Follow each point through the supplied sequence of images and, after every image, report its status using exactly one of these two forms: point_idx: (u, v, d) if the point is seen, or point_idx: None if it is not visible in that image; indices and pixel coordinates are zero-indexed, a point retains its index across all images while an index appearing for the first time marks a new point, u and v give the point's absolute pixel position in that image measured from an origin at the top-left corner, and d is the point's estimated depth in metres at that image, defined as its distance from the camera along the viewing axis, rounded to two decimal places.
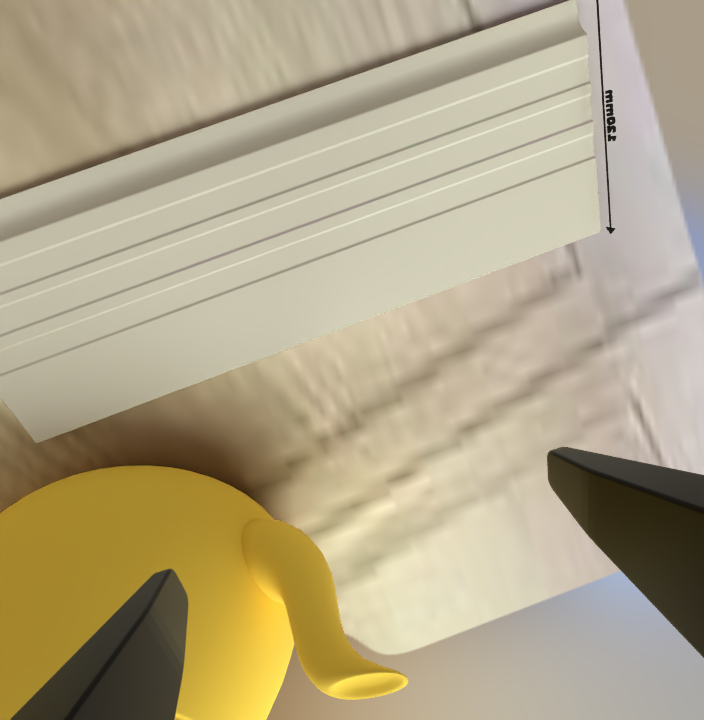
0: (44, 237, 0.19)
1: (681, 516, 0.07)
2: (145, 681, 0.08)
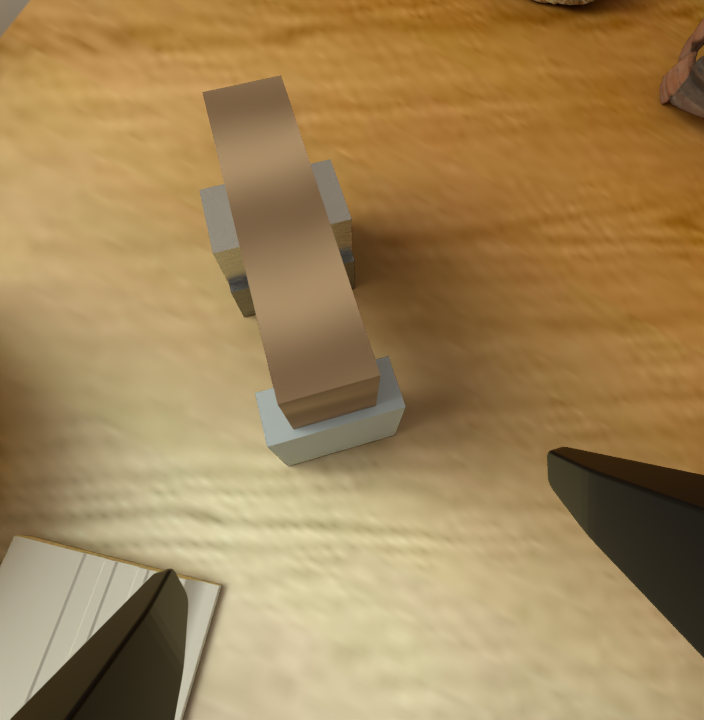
0: None
1: (681, 516, 0.07)
2: (145, 681, 0.08)
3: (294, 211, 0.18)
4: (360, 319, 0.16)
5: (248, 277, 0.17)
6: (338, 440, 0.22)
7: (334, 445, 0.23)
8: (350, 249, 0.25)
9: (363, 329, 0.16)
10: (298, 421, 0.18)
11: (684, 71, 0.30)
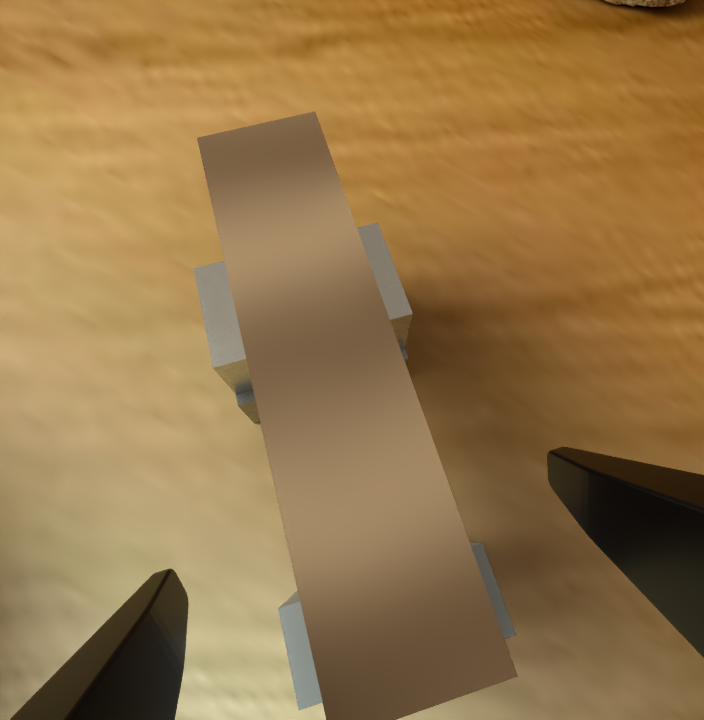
0: None
1: (681, 516, 0.07)
2: (145, 681, 0.08)
3: (345, 339, 0.11)
4: (470, 552, 0.09)
5: (272, 466, 0.10)
6: None
7: None
8: (403, 343, 0.18)
9: (478, 575, 0.09)
10: None
11: None
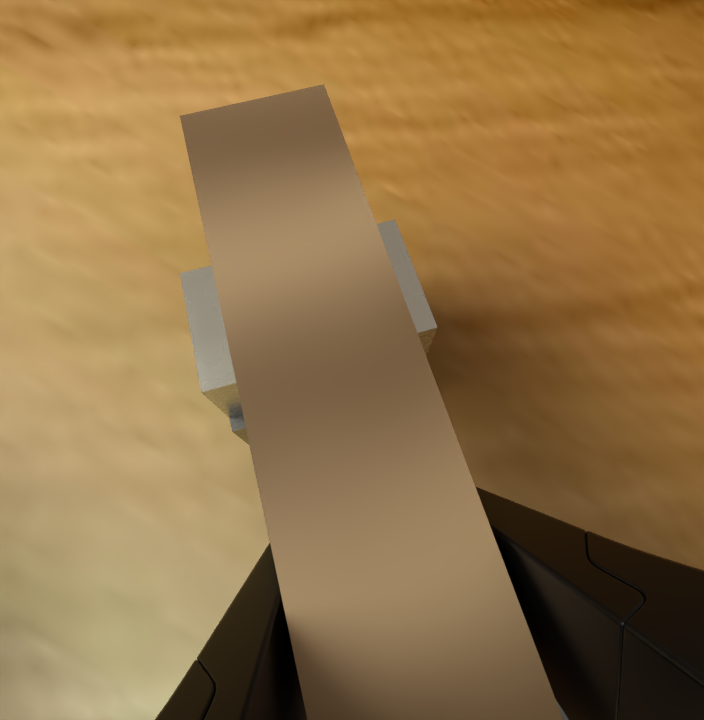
0: None
1: (529, 567, 0.07)
2: None
3: (366, 370, 0.09)
4: (538, 662, 0.07)
5: (272, 541, 0.07)
6: None
7: None
8: None
9: (550, 696, 0.07)
10: None
11: None
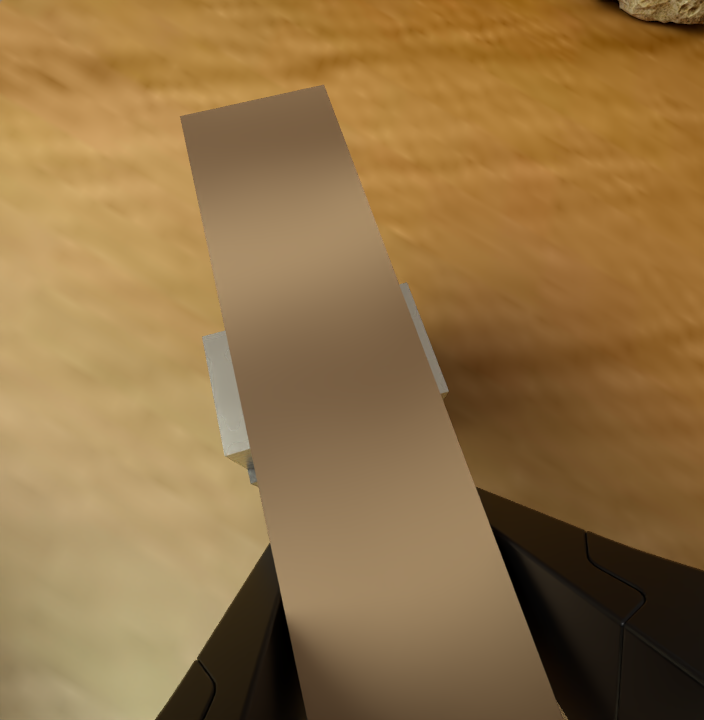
0: None
1: (529, 567, 0.07)
2: None
3: (366, 370, 0.09)
4: (538, 663, 0.07)
5: (272, 542, 0.07)
6: None
7: None
8: None
9: (550, 697, 0.07)
10: None
11: None
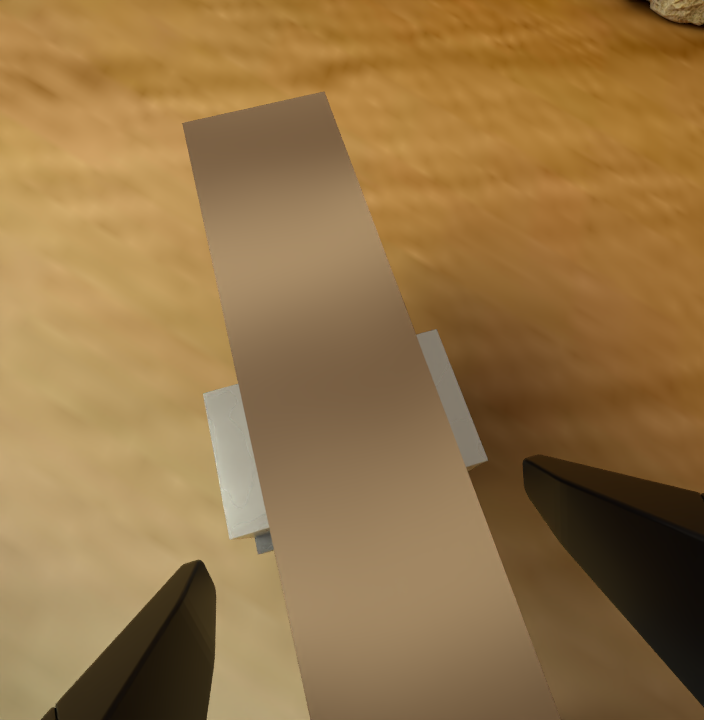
0: None
1: (646, 528, 0.07)
2: (181, 669, 0.08)
3: (367, 375, 0.09)
4: (535, 662, 0.07)
5: (275, 544, 0.08)
6: None
7: None
8: None
9: (548, 696, 0.07)
10: None
11: None
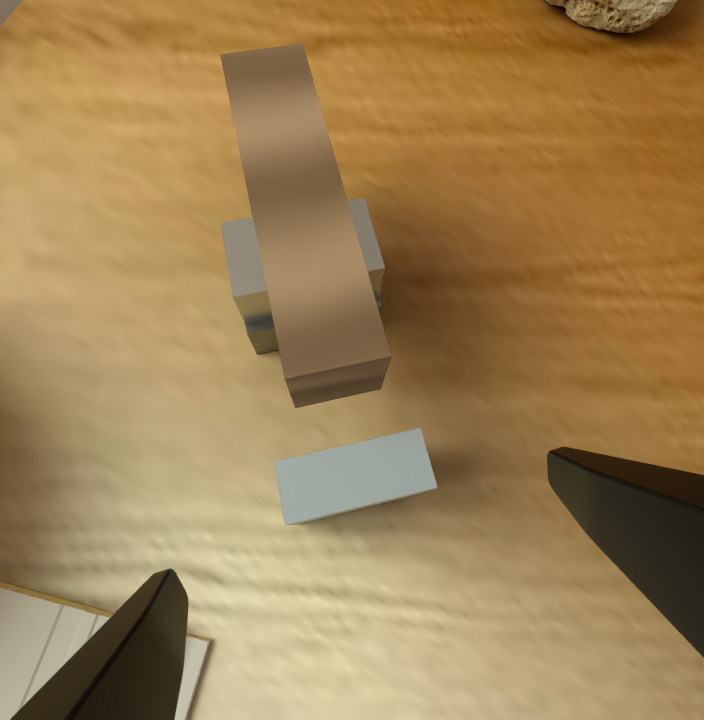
0: None
1: (681, 516, 0.07)
2: (145, 681, 0.08)
3: (310, 183, 0.17)
4: (373, 298, 0.16)
5: (260, 248, 0.16)
6: (357, 508, 0.20)
7: (351, 510, 0.21)
8: (378, 294, 0.23)
9: (376, 308, 0.16)
10: (302, 399, 0.17)
11: None
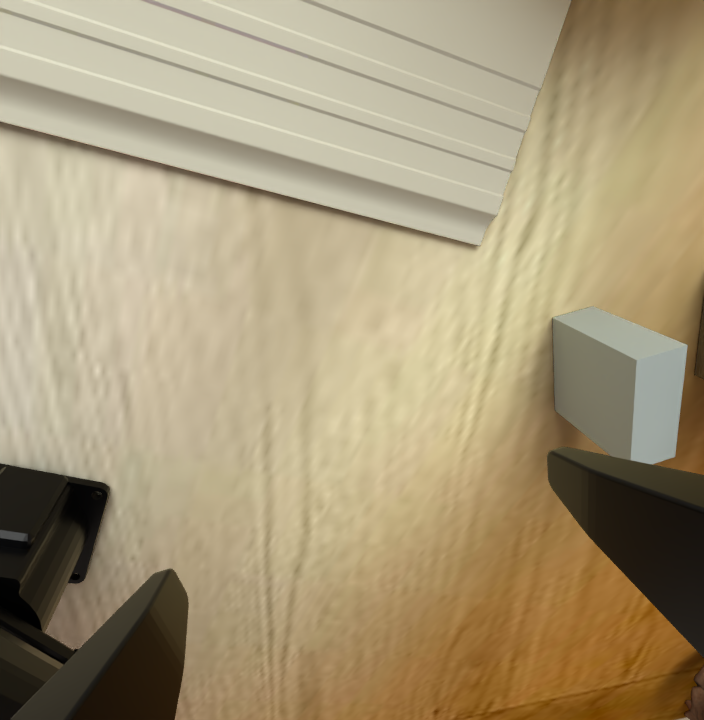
0: (383, 172, 0.19)
1: (681, 516, 0.07)
2: (145, 681, 0.08)
3: None
4: None
5: None
6: (588, 388, 0.23)
7: (577, 376, 0.24)
8: None
9: None
10: None
11: None
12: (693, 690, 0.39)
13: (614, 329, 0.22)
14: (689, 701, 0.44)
